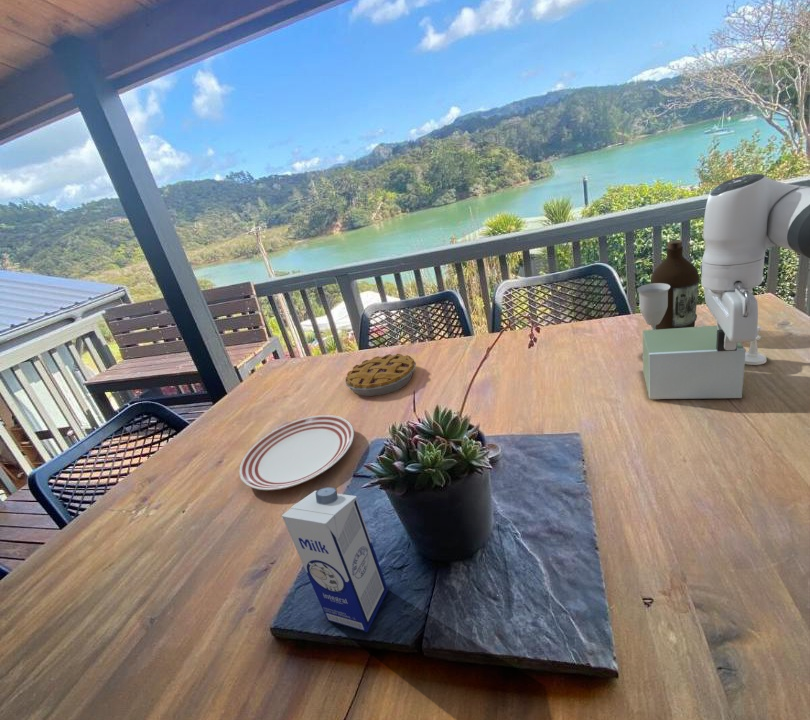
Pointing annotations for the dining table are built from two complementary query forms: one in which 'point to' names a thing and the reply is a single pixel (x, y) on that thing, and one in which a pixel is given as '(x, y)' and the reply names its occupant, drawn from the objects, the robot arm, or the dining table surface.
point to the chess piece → (755, 352)
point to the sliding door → (697, 373)
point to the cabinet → (677, 342)
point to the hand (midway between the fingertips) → (726, 344)
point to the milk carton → (338, 556)
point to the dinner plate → (296, 452)
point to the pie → (381, 375)
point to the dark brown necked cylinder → (678, 288)
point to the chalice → (653, 302)
